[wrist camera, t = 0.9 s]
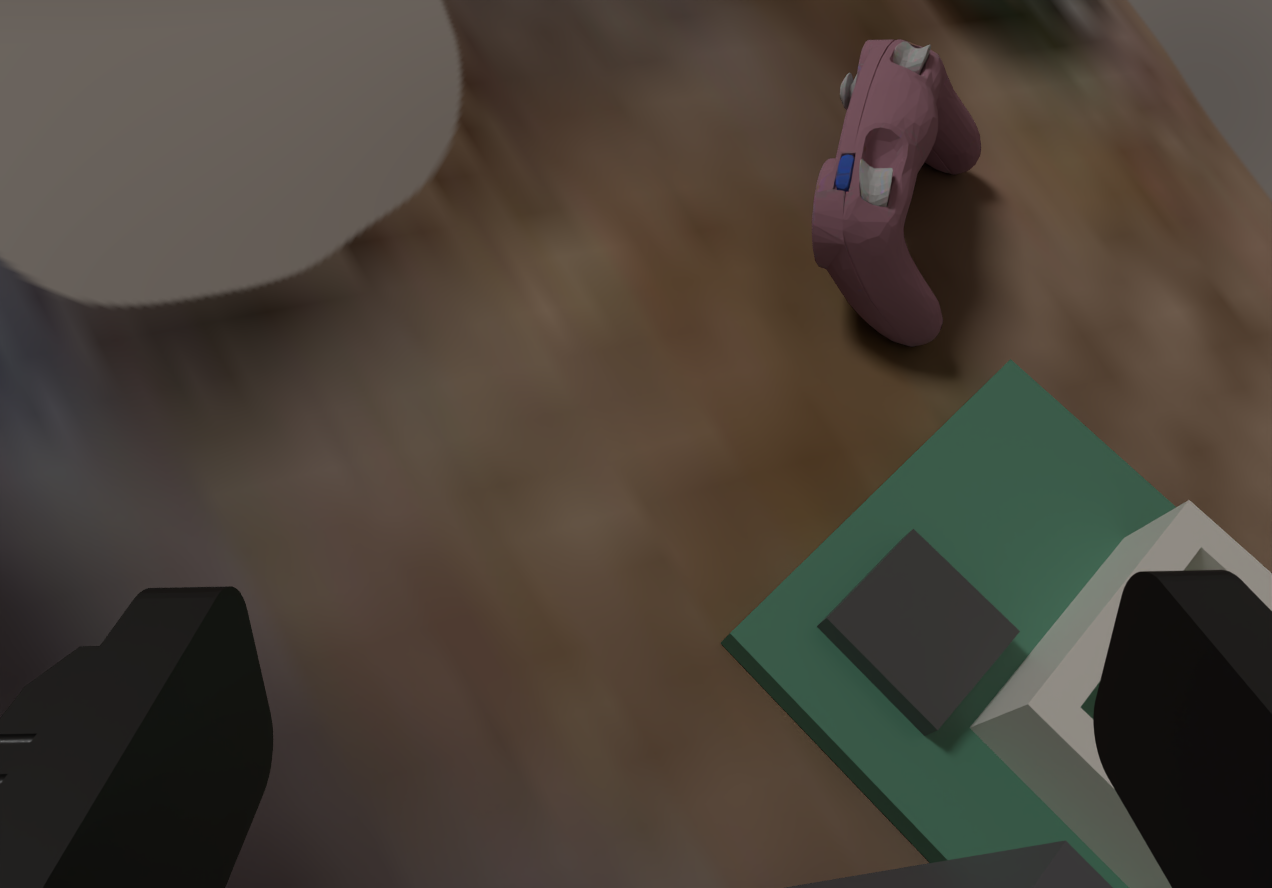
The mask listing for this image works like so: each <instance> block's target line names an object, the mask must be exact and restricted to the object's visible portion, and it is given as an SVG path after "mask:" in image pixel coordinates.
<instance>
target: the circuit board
mask: <svg viewBox="0 0 1272 888" xmlns="http://www.w3.org/2000/svg"><path fill="white" fill-rule="evenodd" d="M1189 570H1226V571H1230V572H1231V573H1233V574H1235V575H1236V576H1238V577H1239V578H1240V579H1241V580H1242V581H1243V582H1244V583H1245V584H1246V585H1247V586H1248V587H1249V588H1250V589H1251V590H1252V591H1253V592H1254V593H1255V594H1256V595H1257V596H1258V597H1259V599H1260V600H1261V601H1262V602H1263V603H1264V604H1265V605H1266V606H1267V607H1268V608H1269V609H1270V610H1271V611H1272V573H1271V572H1270V571H1268V570H1267V569H1266V568H1265V567H1264V566H1263V565H1262V564H1261V563H1259V562H1258V561H1257V560H1256V559H1255V558H1254V557H1253V556H1252V555H1250V554H1249V553H1248V552H1247V551H1246V550H1245V549H1244V548H1243V547H1241V546H1240V545H1239V544H1238V543H1237V542H1236V541H1235V540H1234V539H1232V538H1231V537H1230V536H1229V535H1228V534H1227V533H1226V532H1225V531H1223V530H1222V529H1221V528H1220V527H1219V526H1218V525H1217V524H1216V523H1214V522H1213V521H1212V520H1211V519H1210V518H1209V517H1208V516H1207V515H1205V514H1204V513H1203V512H1202V511H1201V510H1200V509H1199V508H1198V507H1196V506H1195V505H1194V504H1193V503H1192V502H1191V501H1190V500H1188V501H1186V502H1185V503H1183V504H1181V505H1180V506H1178V507H1175V506H1174V505H1173V504H1172V503H1171V502H1170V501H1169V500H1167V499H1166V498H1165V497H1164V496H1163V495H1162V494H1161V493H1160V492H1158V491H1157V490H1156V489H1155V488H1154V487H1153V486H1152V485H1151V484H1150V483H1148V482H1147V481H1146V480H1145V479H1144V478H1143V477H1142V476H1141V475H1139V474H1138V473H1137V472H1136V471H1135V470H1134V469H1133V468H1132V467H1131V466H1129V465H1128V464H1127V463H1126V462H1125V461H1124V460H1123V459H1122V458H1120V457H1119V456H1118V455H1117V454H1116V453H1115V452H1114V451H1113V450H1111V449H1110V448H1109V447H1108V446H1107V445H1106V444H1105V443H1104V442H1103V441H1101V440H1100V439H1099V438H1098V437H1097V436H1096V435H1095V434H1094V433H1092V432H1091V431H1090V430H1089V429H1088V428H1087V427H1086V426H1085V425H1084V424H1082V423H1081V422H1080V421H1079V420H1078V419H1077V418H1076V417H1075V416H1073V415H1072V414H1071V413H1070V412H1069V411H1068V410H1067V409H1066V408H1065V407H1063V406H1062V405H1061V404H1060V403H1059V402H1058V401H1057V400H1056V399H1054V398H1053V397H1052V396H1051V395H1050V394H1049V393H1048V392H1047V391H1046V390H1044V389H1043V388H1042V387H1041V386H1040V385H1039V384H1038V383H1037V382H1035V381H1034V380H1033V379H1032V378H1031V377H1030V376H1029V375H1028V374H1027V373H1025V372H1024V371H1023V370H1022V369H1021V368H1020V367H1019V366H1018V365H1016V364H1015V363H1014V362H1013V361H1012V360H1011V359H1010V360H1009V361H1008V362H1007V363H1006V364H1005V365H1004V366H1003V367H1002V368H1001V369H1000V370H999V371H998V372H997V373H996V374H995V375H994V376H993V377H992V378H991V379H990V380H989V381H988V382H987V383H986V384H985V385H984V386H983V387H982V388H981V389H980V390H979V391H978V392H977V393H976V394H975V395H974V396H973V397H972V398H971V399H969V400H968V401H967V402H966V403H965V404H964V405H963V406H962V407H961V408H960V409H959V410H958V411H957V412H956V413H955V414H954V415H953V416H952V417H951V418H950V419H949V420H948V421H947V422H946V423H945V424H944V425H943V426H942V427H941V428H940V429H939V430H938V431H937V432H936V433H935V434H934V435H933V436H932V437H931V438H930V439H929V440H928V441H926V442H925V443H924V444H923V445H922V446H921V447H920V448H919V449H918V450H917V451H916V452H915V453H914V454H913V455H912V456H911V457H910V458H909V459H908V460H907V461H906V462H905V463H904V464H903V465H902V466H901V467H900V468H899V469H898V470H897V471H896V472H895V473H894V474H893V475H892V476H891V477H890V478H889V479H888V480H887V481H886V482H885V483H883V484H882V485H881V486H880V487H879V488H878V489H877V490H876V491H875V492H874V493H873V494H872V495H871V496H870V497H869V498H868V499H867V500H866V501H865V502H864V503H863V504H862V505H861V506H860V507H859V508H858V509H857V510H856V511H855V512H854V513H853V514H852V515H851V516H850V517H849V518H848V519H847V520H846V521H845V522H844V523H843V524H841V525H840V526H839V527H838V528H837V529H836V530H835V531H834V532H833V533H832V534H831V535H830V536H829V537H828V538H827V539H826V540H825V541H824V542H823V543H822V544H821V545H820V546H819V547H818V548H817V549H816V550H815V551H814V552H813V553H812V554H811V555H810V556H809V557H808V558H807V559H806V560H805V561H804V562H803V563H802V564H801V565H800V566H798V567H797V568H796V569H795V570H794V571H793V572H792V573H791V574H790V575H789V576H788V577H787V578H786V579H785V580H784V581H783V582H782V583H781V584H780V585H779V586H778V587H777V588H776V589H775V590H774V591H773V592H772V593H771V594H770V595H769V596H768V597H767V598H766V599H765V600H764V601H763V602H762V603H761V604H760V605H759V606H758V607H757V608H755V609H754V610H753V611H752V612H751V613H750V614H749V615H748V616H747V617H746V618H745V619H744V620H743V621H742V622H741V623H740V624H739V625H738V626H737V627H736V628H735V629H734V630H733V631H732V632H731V633H730V634H729V635H728V636H727V637H726V638H725V639H724V640H723V641H722V642H721V644H722V645H723V646H724V647H725V648H726V649H727V650H728V652H729V653H730V654H731V655H732V656H733V657H734V658H735V659H736V660H737V661H738V662H739V663H740V664H741V665H742V666H743V667H744V668H745V669H746V670H747V671H748V672H749V674H750V675H751V676H752V677H753V678H754V679H755V680H756V681H757V682H758V683H759V684H760V685H761V686H762V687H763V688H764V689H765V690H766V691H767V692H768V693H769V695H770V696H771V697H772V698H773V699H774V700H775V701H776V702H777V703H778V704H779V705H780V706H781V707H782V708H783V709H784V710H785V711H786V712H787V713H788V714H789V715H790V717H791V718H792V719H793V720H794V721H795V722H796V723H797V724H798V725H799V726H800V727H801V728H802V729H803V730H804V731H805V732H806V733H807V734H808V735H809V736H810V738H811V739H812V740H813V741H814V742H815V743H816V744H817V745H818V746H819V747H820V748H821V749H822V750H823V751H824V752H825V753H826V754H827V755H828V756H829V757H830V758H831V760H832V761H833V762H834V763H835V764H836V765H837V766H838V767H839V768H840V769H841V770H842V771H843V772H844V773H845V774H846V775H847V776H848V777H849V778H850V779H851V780H852V782H853V783H854V784H855V785H856V786H857V787H858V788H859V789H860V790H861V791H862V792H863V793H864V794H865V795H866V796H867V797H868V798H869V799H870V800H871V801H872V803H873V804H874V805H875V806H876V807H877V808H878V809H879V810H880V811H881V812H882V813H883V814H884V815H885V816H886V817H887V818H888V819H889V820H890V821H891V822H892V823H893V825H894V826H895V827H896V828H897V829H898V830H899V831H900V832H901V833H902V834H903V835H904V836H905V837H906V838H907V839H908V840H909V841H910V842H911V843H912V844H913V846H914V847H915V848H916V849H917V850H918V851H919V852H920V853H921V854H922V855H923V856H924V857H925V858H926V859H927V860H928V861H929V862H930V863H934V862H940V861H946V860H952V859H958V858H964V857H970V856H976V855H982V854H988V853H994V852H1000V851H1006V850H1012V849H1018V848H1024V847H1030V846H1036V845H1041V844H1047V843H1053V842H1059V841H1065V840H1066V841H1067V842H1068V843H1069V844H1070V845H1071V846H1072V847H1073V848H1074V849H1075V850H1076V851H1077V852H1078V853H1079V854H1080V855H1081V856H1082V857H1083V858H1084V859H1085V860H1086V861H1087V862H1088V863H1089V864H1090V865H1091V866H1092V867H1093V868H1094V869H1095V870H1096V871H1097V872H1098V873H1099V874H1100V875H1101V876H1102V877H1103V878H1104V879H1105V880H1106V881H1107V882H1108V883H1109V884H1110V885H1111V886H1112V887H1113V888H1172V887H1171V885H1170V884H1169V882H1168V880H1167V878H1166V877H1165V875H1164V873H1163V872H1162V870H1161V868H1160V866H1159V865H1158V863H1157V861H1156V860H1155V858H1154V856H1153V854H1152V853H1151V851H1150V849H1149V847H1148V846H1147V844H1146V842H1145V841H1144V839H1143V837H1142V835H1141V834H1140V832H1139V830H1138V829H1137V827H1136V825H1135V823H1134V822H1133V820H1132V818H1131V817H1130V815H1129V813H1128V811H1127V810H1126V808H1125V806H1124V805H1123V803H1122V801H1121V799H1120V798H1119V796H1118V794H1117V793H1116V791H1115V789H1114V787H1113V786H1112V784H1111V782H1110V781H1109V779H1108V777H1107V775H1106V773H1105V771H1104V769H1103V767H1102V764H1101V761H1100V758H1099V755H1098V752H1097V747H1096V743H1095V736H1094V726H1093V714H1094V705H1095V700H1096V696H1097V692H1098V688H1099V684H1100V680H1101V676H1102V672H1103V668H1104V664H1105V660H1106V656H1107V652H1108V648H1109V644H1110V640H1111V636H1112V632H1113V628H1114V624H1115V620H1116V616H1117V612H1118V608H1119V604H1120V600H1121V596H1122V593H1123V589H1124V587H1125V585H1126V583H1127V581H1128V580H1129V579H1130V577H1131V576H1132V575H1134V574H1135V573H1137V572H1140V571H1189Z"/></svg>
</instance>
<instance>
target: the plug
mask: <svg viewBox="0 0 1272 888" xmlns="http://www.w3.org/2000/svg"><path fill="white" fill-rule="evenodd" d="M786 888H1113V887H1112V886H1111V885H1110V884H1109V883H1108V882H1107V881H1106V880H1105V879H1104V878H1103V877H1102V876H1101V875H1100V874H1099V873H1098V872H1097V871H1096V870H1095V869H1094V868H1093V867H1092V866H1091V865H1090V864H1089V863H1088V862H1087V861H1086V860H1085V859H1084V858H1083V857H1082V856H1081V855H1080V854H1079V853H1078V852H1077V851H1076V850H1075V849H1074V848H1073V847H1072V846H1071V845H1070V844H1069V843H1068V842H1067V841H1066V840H1065V841H1059V842H1053V843H1047V844H1041V845H1036V846H1030V847H1024V848H1018V849H1012V850H1006V851H1000V852H994V853H988V854H982V855H976V856H970V857H964V858H958V859H952V860H946V861H940V862H934V863H929V864H923V865H917V866H911V867H905V868H899V869H893V870H887V871H881V872H875V873H869V874H863V875H857V876H851V877H845V878H839V879H833V880H827V881H822V882H816V883H810V884H804V885H798V886H792V887H786Z"/></svg>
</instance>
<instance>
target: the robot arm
mask: <svg viewBox="0 0 1272 888" xmlns="http://www.w3.org/2000/svg"><path fill="white" fill-rule="evenodd" d="M1093 726H1094V736H1095V743H1096V747H1097V752H1098V755H1099V758H1100V761H1101V764H1102V767H1103V769H1104V771H1105V773H1106V775H1107V777H1108V779H1109V781H1110V782H1111V784H1112V786H1113V787H1114V789H1115V791H1116V793H1117V794H1118V796H1119V798H1120V799H1121V801H1122V803H1123V805H1124V806H1125V808H1126V810H1127V811H1128V813H1129V815H1130V817H1131V818H1132V820H1133V822H1134V823H1135V825H1136V827H1137V829H1138V830H1139V832H1140V834H1141V835H1142V837H1143V839H1144V841H1145V842H1146V844H1147V846H1148V847H1149V849H1150V851H1151V853H1152V854H1153V856H1154V858H1155V860H1156V861H1157V863H1158V865H1159V866H1160V868H1161V870H1162V872H1163V873H1164V875H1165V877H1166V878H1167V880H1168V882H1169V884H1170V885H1171V887H1172V888H1272V611H1271V610H1270V609H1269V608H1268V607H1267V606H1266V605H1265V604H1264V603H1263V602H1262V601H1261V600H1260V599H1259V597H1258V596H1257V595H1256V594H1255V593H1254V592H1253V591H1252V590H1251V589H1250V588H1249V587H1248V586H1247V585H1246V584H1245V583H1244V582H1243V581H1242V580H1241V579H1240V578H1239V577H1238V576H1236V575H1235V574H1233V573H1231V572H1230V571H1226V570H1189V571H1140V572H1137V573H1135V574H1134V575H1132V576H1131V577H1130V579H1129V580H1128V581H1127V583H1126V585H1125V587H1124V589H1123V593H1122V596H1121V600H1120V604H1119V608H1118V612H1117V616H1116V620H1115V624H1114V628H1113V632H1112V636H1111V640H1110V644H1109V648H1108V652H1107V656H1106V660H1105V664H1104V668H1103V672H1102V676H1101V680H1100V684H1099V688H1098V692H1097V696H1096V700H1095V705H1094V714H1093ZM272 752H273V726H272V719H271V713H270V709H269V704H268V700H267V695H266V691H265V687H264V682H263V678H262V673H261V669H260V664H259V660H258V656H257V651H256V647H255V642H254V638H253V633H252V629H251V625H250V620H249V616H248V611H247V608H246V604H245V601H244V599H243V597H242V595H241V593H240V592H239V591H238V590H237V589H236V588H234V587H184V588H148V589H145V590H143V591H141V592H140V593H139V594H138V595H137V596H136V597H135V598H134V600H133V601H132V602H131V604H130V605H129V607H128V608H127V609H126V611H125V612H124V614H123V615H122V616H121V618H120V619H119V621H118V622H117V623H116V625H115V626H114V627H113V629H112V630H111V632H110V633H109V634H108V636H107V637H106V639H105V640H104V641H103V643H102V644H101V645H100V646H83V647H79V648H77V649H76V650H75V651H73V652H72V653H71V654H69V655H68V656H66V657H65V658H64V659H62V660H61V661H60V662H58V663H57V664H55V665H54V666H53V667H51V668H50V669H49V670H47V671H46V672H45V673H43V674H42V675H40V676H39V677H38V678H36V679H35V680H34V681H32V682H31V683H29V684H28V685H27V686H25V687H24V689H23V690H22V691H21V692H20V694H19V695H18V696H17V698H16V699H15V700H14V701H13V703H12V704H11V705H10V706H9V708H8V709H7V710H6V712H5V713H4V714H3V715H2V717H1V718H0V888H225V886H226V884H227V881H228V879H229V876H230V874H231V872H232V869H233V867H234V864H235V862H236V859H237V857H238V854H239V852H240V850H241V847H242V845H243V842H244V840H245V837H246V835H247V832H248V830H249V828H250V825H251V823H252V820H253V818H254V815H255V813H256V810H257V808H258V806H259V803H260V801H261V798H262V796H263V793H264V791H265V788H266V785H267V781H268V778H269V773H270V768H271V761H272Z"/></svg>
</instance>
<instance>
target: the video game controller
mask: <svg viewBox="0 0 1272 888" xmlns="http://www.w3.org/2000/svg"><path fill="white" fill-rule="evenodd" d="M930 48H931V44H930V45H928V46H926V47H921V46H918V45H915V44H913V43H910V42H907V41H904V40H900V39H899V40H868V41H866V43H865V45H864V46H863V48H862V52H861V56H860V61H859V65H858V72H857V75H856V77H855V79H854V81H853V77H852V74H851V73H848V74H847V75H846V77H845V78H844V80H843V82H842V84H841V88H840V99H841V101H842V104H843V106H844V108H845V109H846V110H847V113H846V116H845V120H844V125H843V129H842V133H841V138H840V142H839V146H838V151H837V155H836V158H831V159H828V160H827V161H826V162H825V163H824V164H823V166H822V169H821V171H820V173H819V177H818V181H817V184H816V191H815V197H814V205H813V214H812V242H813V251H814V257H815V261H816V263H817V264H818V266H819V267H822V268H825V269H827V271H828V272H829V274H830V275H831V277H832V278H833V280H834V281H835V283H836V285H837V286H838V288H839V289H840V291H841V292H842V294H843V295H844V297H845V298H846V300H847V301H848V303H849V304H850V305H851V306H852V308H853V309H854V310H855V311H856V312H857V313H858V314H859V315H860V316H861V317H862V318H863V319H864V320H865V321H866V322H867V323H868V324H869V325H870V326H871V327H873V328H874V329H875V330H876V331H878V332H879V333H880V334H882V335H883V336H885V337H887V338H888V339H890V340H892V341H893V342H897V343H900V344H903V345H906V346H910V347H914V346H919V345H924V344H926V343H929V342H930V341H932V340H933V339H934V338H936V337H937V335H938V333H939V332H940V330H941V328H942V324H943V318H942V314H941V309H940V305H939V302H938V300H937V298H936V297H935V295H934V294H933V292H932V290H931V289H930V287H929V286H928V284H927V283H926V281H925V280H924V278H923V276H922V275H921V273H920V272H919V270H918V268H917V266H916V265H915V263H914V261H913V259H912V257H911V256H910V254H909V251H908V248H907V245H906V242H905V239H904V229H903V228H904V224H905V219H906V216H907V212H908V209H909V206H910V202H911V199H912V195H913V191H914V186H915V182H916V178H917V173H918V171H919V170H920V168H921V167H922V165H923V164H924V162H925V163H926V164H928V165H930V166H931V167H933V168H934V169H936V170H939V171H942V172H945V173H950V174H952V175H955V174H959V173H963V172H966V171H968V170H970V169H971V168H972V167H973V166H974V165H975V164H976V162H977V160H978V159H979V157H980V153H981V141H980V134H979V131H978V129H977V126H976V124H975V122H974V120H973V118H972V117H971V115H970V113H969V112H968V111H967V109H966V108H965V106H964V105H963V103H962V102H961V100H960V99H959V97H958V96H957V94H956V93H955V91H954V90H953V87H952V85H951V83H950V80H949V78H948V76H947V73H946V71H945V68H944V65H943V63H942V60H941V59H940V57H939V55H938V54H937V53H935V52H933V51H931V50H930Z"/></svg>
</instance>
